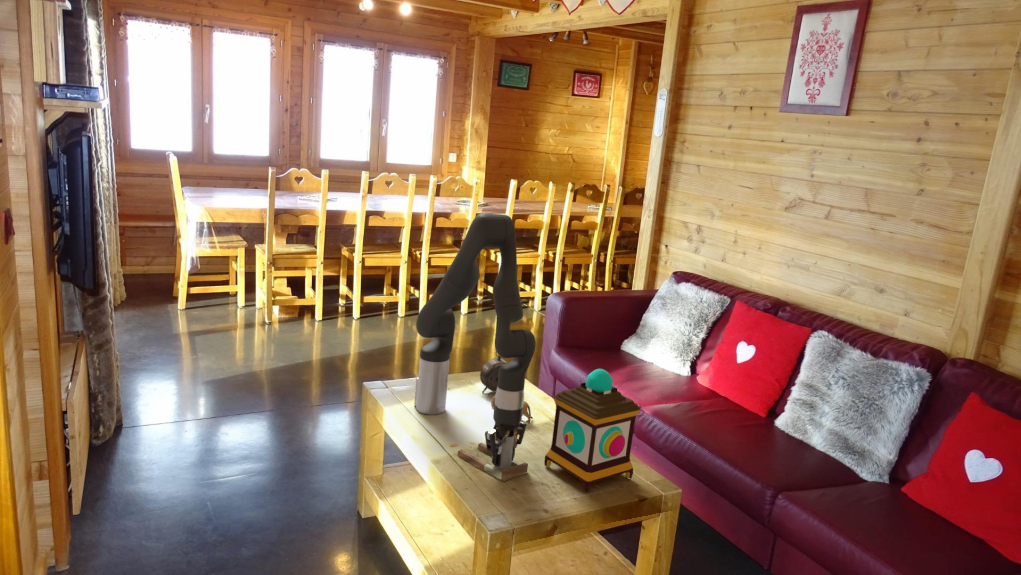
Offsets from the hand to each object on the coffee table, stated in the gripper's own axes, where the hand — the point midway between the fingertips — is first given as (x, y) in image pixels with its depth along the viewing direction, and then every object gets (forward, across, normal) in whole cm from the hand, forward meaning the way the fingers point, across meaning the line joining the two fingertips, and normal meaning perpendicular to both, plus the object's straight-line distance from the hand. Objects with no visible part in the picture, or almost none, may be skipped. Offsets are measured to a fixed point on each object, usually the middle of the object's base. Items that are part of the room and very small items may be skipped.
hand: (502, 462), depth 197 cm
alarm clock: (+2, -38, -41) cm, 56 cm away
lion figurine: (+2, -25, -21) cm, 33 cm away
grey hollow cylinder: (+2, 0, 0) cm, 2 cm away
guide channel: (+2, 0, -4) cm, 4 cm away
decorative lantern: (+2, -18, +15) cm, 24 cm away
